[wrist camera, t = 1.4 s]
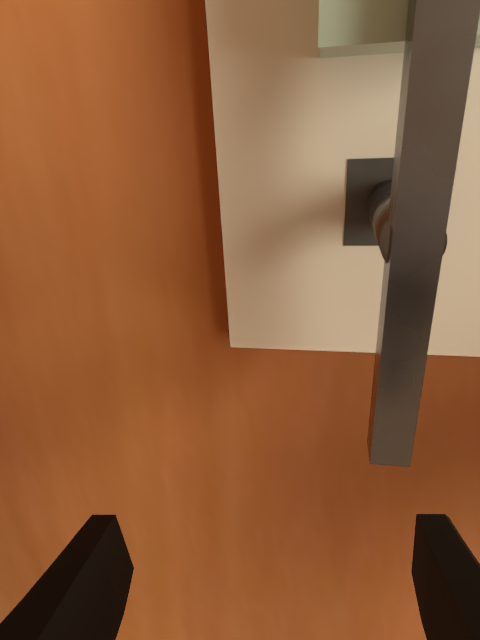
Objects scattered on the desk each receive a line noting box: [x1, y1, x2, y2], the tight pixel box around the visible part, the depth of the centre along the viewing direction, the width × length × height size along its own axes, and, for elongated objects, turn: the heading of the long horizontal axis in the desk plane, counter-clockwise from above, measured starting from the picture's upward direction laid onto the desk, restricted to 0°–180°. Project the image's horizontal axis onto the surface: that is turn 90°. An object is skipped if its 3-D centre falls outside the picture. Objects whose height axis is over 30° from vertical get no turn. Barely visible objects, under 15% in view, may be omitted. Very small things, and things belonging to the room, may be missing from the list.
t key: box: [366, 0, 480, 467], centre depth 13 cm, size 2×13×5 cm, turn 3°
